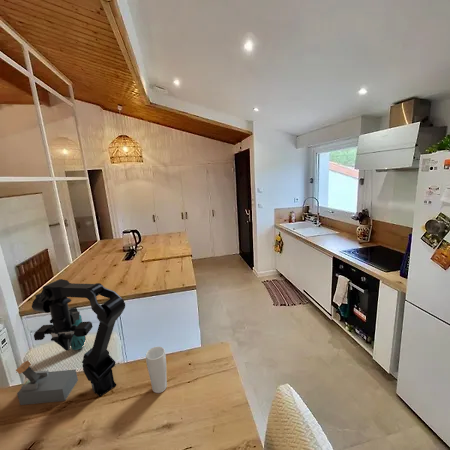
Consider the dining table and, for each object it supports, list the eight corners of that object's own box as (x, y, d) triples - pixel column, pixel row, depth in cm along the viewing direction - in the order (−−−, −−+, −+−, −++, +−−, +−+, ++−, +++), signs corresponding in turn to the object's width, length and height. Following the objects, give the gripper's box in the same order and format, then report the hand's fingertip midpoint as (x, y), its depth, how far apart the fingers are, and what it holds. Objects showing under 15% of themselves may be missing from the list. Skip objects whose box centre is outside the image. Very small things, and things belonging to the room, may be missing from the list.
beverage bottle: (69, 354, 113) (61, 314, 108) (73, 345, 119) (65, 307, 115) (85, 351, 114) (77, 311, 110) (88, 342, 121) (81, 304, 116)
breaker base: (78, 380, 98) (75, 366, 97) (65, 400, 89) (61, 385, 88) (37, 384, 97) (33, 369, 96) (20, 405, 88) (16, 389, 87)
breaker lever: (42, 375, 93) (27, 360, 92) (36, 382, 90) (21, 366, 89) (37, 378, 93) (22, 363, 92) (31, 386, 90) (15, 370, 89)
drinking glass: (172, 385, 93) (168, 350, 90) (159, 399, 88) (154, 362, 85) (160, 377, 97) (156, 343, 94) (146, 390, 92) (141, 355, 88)
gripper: (95, 300, 101) (101, 334, 105) (48, 304, 100) (55, 338, 104) (81, 316, 90) (89, 353, 94) (28, 320, 89) (37, 357, 93)
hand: (68, 349), depth 96 cm, fingers closed
